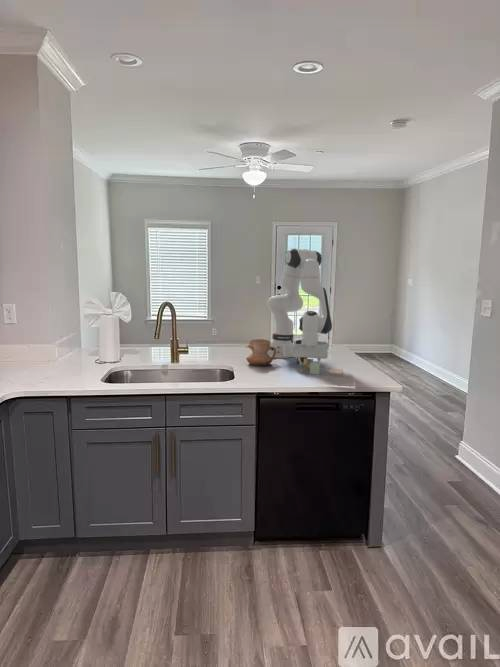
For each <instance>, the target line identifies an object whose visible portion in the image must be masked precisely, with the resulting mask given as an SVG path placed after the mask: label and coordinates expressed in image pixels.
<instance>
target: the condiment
mask: <svg viewBox="0 0 500 667" xmlns="http://www.w3.org/2000/svg"><path fill="white" fill-rule="evenodd" d="M296 358H297V359H296V364H298V365H300V362H299V360H298V357H296ZM304 359H308V358H305V357H301V359H300V360H301V361H302V362H303V364H302V365H304Z"/></svg>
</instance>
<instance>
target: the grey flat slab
mask: <svg viewBox="0 0 500 667" xmlns="http://www.w3.org/2000/svg"><path fill="white" fill-rule="evenodd" d="M300 374H301V375H311V376H312V375H313V376H314V375H315V376H329V377H339V378H340V377H342V378H343V377H344V370H343V369H337V368H335V369H334V368H321V367H320V372H319V374H310V370H306V369H303V368H302V369H301V372H300Z"/></svg>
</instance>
